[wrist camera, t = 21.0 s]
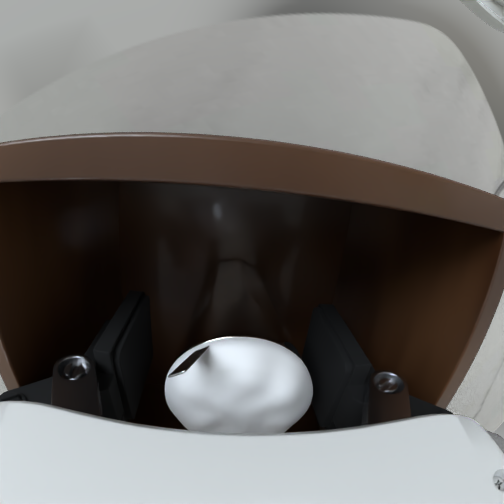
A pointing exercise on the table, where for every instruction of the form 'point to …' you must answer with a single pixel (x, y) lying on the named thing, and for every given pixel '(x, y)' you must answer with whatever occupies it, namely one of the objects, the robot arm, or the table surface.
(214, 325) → the milkshake
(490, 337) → the table surface
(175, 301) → the chest
